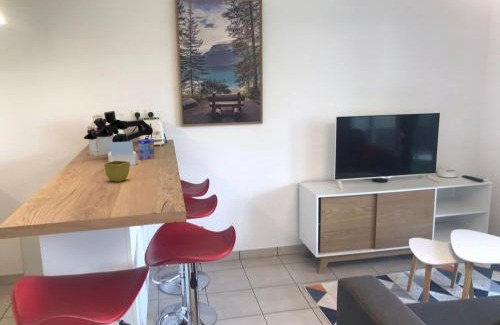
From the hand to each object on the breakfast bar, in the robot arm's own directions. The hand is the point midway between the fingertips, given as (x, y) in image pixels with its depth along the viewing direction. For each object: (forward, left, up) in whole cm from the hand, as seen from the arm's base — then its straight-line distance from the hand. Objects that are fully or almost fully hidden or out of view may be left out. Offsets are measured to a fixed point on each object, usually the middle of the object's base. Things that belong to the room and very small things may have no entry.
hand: (89, 137), depth 240 cm
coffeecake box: (-23, -19, -16) cm, 34 cm away
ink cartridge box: (-27, +18, -16) cm, 36 cm away
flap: (-3, +24, -9) cm, 25 cm away
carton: (-8, +19, -16) cm, 25 cm away
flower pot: (+22, +50, -16) cm, 57 cm away
